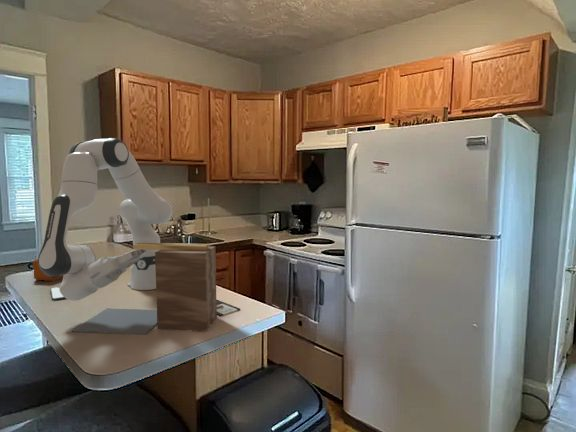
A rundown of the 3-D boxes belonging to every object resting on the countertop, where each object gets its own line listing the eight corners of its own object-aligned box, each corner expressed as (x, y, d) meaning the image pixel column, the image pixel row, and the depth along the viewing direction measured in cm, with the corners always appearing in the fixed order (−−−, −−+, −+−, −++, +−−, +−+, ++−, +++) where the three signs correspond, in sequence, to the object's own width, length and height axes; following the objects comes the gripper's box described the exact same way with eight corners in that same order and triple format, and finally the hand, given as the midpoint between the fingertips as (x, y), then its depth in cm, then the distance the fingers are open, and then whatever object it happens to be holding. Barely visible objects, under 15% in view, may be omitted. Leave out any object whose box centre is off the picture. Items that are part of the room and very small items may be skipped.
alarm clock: (49, 282, 174) (48, 258, 173) (33, 281, 175) (32, 257, 174) (86, 269, 197) (84, 248, 196) (71, 268, 199) (70, 247, 198)
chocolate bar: (211, 297, 151) (240, 308, 139) (211, 299, 151) (240, 311, 139) (191, 303, 145) (220, 315, 132) (191, 305, 145) (220, 317, 132)
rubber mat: (106, 309, 139) (106, 308, 139) (170, 311, 137) (170, 310, 137) (71, 331, 119) (71, 330, 119) (145, 334, 117) (145, 333, 117)
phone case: (77, 298, 153) (73, 288, 166) (77, 295, 152) (73, 284, 166) (51, 302, 148) (49, 291, 161) (51, 298, 148) (49, 288, 161)
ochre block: (139, 247, 127) (138, 242, 127) (209, 248, 125) (209, 243, 125) (133, 249, 123) (133, 244, 123) (205, 250, 121) (205, 246, 121)
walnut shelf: (171, 315, 133) (169, 245, 130) (216, 317, 132) (215, 246, 129) (157, 329, 121) (154, 252, 118) (206, 331, 120) (205, 253, 117)
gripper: (81, 270, 116) (117, 249, 115) (116, 256, 137) (147, 237, 135) (91, 288, 117) (128, 267, 115) (125, 271, 137) (156, 253, 135)
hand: (139, 251), depth 125 cm, fingers open, 8 cm apart
